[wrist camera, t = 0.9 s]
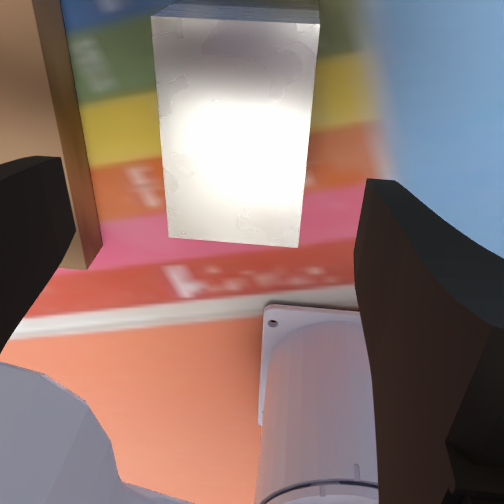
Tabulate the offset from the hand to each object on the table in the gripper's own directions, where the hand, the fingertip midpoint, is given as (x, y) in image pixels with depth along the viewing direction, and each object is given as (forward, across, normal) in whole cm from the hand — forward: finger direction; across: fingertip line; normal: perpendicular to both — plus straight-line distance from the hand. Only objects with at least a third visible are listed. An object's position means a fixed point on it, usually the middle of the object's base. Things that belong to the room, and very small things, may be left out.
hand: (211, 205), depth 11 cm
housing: (+9, 0, 0) cm, 9 cm away
